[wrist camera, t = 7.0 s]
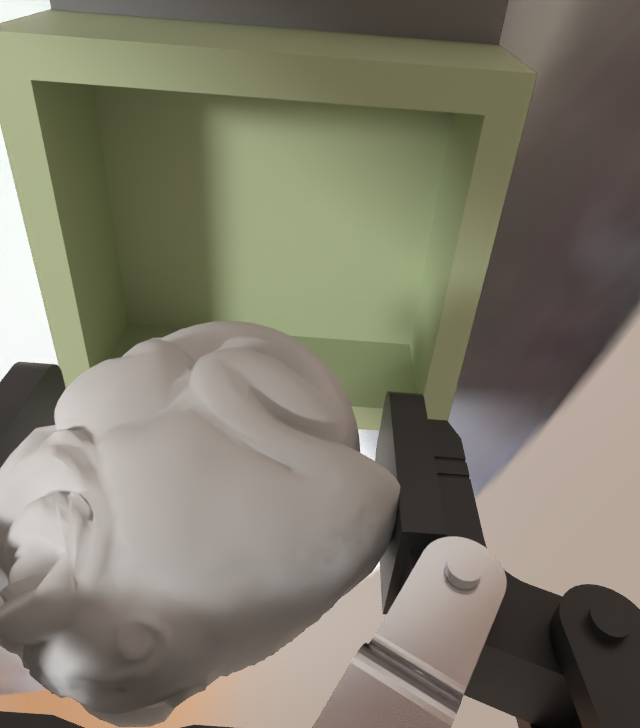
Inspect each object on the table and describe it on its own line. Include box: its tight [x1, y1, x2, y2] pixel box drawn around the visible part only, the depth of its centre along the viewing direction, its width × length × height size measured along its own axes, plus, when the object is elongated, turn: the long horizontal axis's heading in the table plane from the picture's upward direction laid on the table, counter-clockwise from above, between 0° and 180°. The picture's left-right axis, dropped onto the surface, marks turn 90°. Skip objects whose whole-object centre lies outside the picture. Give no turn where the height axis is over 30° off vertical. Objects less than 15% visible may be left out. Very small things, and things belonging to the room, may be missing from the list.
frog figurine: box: [0, 321, 401, 727], centre depth 11 cm, size 6×7×7 cm
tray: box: [0, 0, 537, 430], centre depth 18 cm, size 14×13×5 cm
